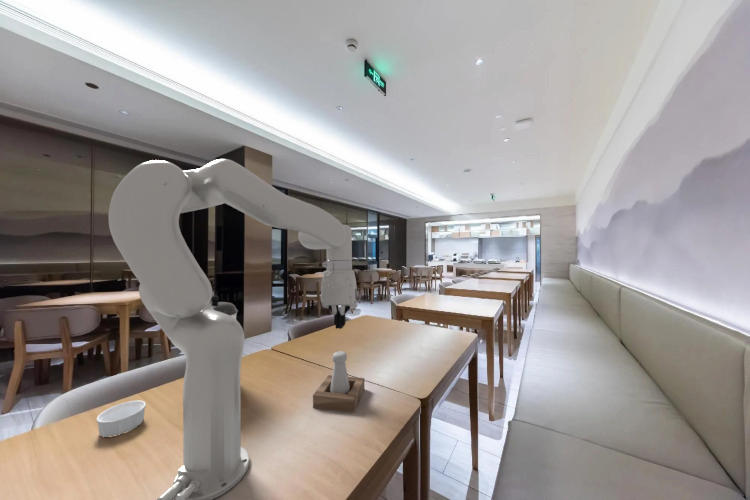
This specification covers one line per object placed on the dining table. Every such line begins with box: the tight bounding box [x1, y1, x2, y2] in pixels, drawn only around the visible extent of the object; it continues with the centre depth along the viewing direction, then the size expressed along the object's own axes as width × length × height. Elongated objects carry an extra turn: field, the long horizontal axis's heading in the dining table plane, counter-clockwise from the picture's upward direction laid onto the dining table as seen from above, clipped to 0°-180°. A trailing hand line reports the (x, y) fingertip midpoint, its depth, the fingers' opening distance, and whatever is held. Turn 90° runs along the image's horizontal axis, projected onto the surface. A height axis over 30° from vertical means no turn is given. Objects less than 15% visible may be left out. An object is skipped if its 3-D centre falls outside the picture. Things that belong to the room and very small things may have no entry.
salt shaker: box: [330, 350, 350, 394], centre depth 77 cm, size 6×6×13 cm
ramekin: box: [96, 399, 147, 438], centre depth 65 cm, size 9×9×4 cm
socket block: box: [312, 374, 365, 413], centre depth 77 cm, size 12×12×4 cm
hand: (339, 327), depth 77 cm, fingers closed
